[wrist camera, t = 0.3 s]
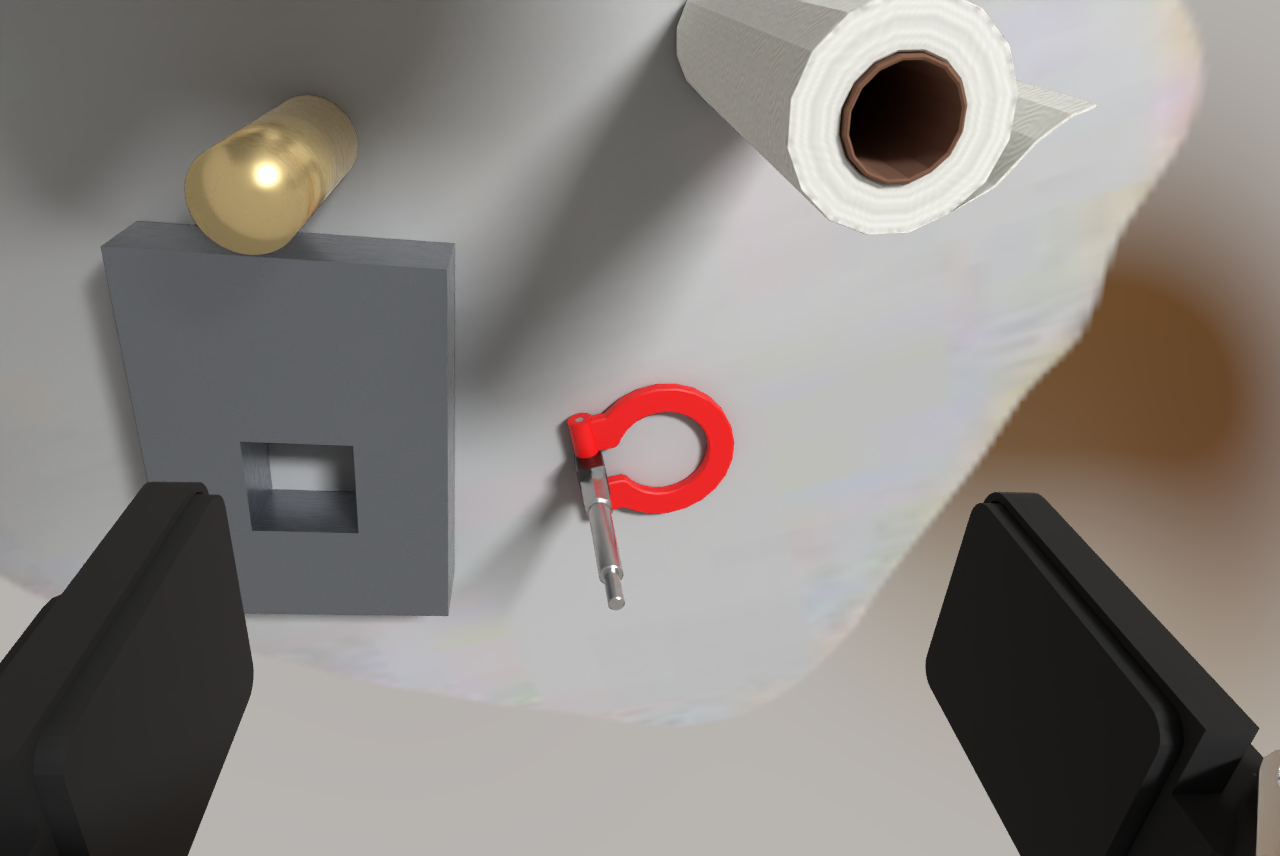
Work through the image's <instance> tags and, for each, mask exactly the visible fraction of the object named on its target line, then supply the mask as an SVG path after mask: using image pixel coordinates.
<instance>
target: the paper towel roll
mask: <svg viewBox="0 0 1280 856" xmlns="http://www.w3.org/2000/svg"><path fill="white" fill-rule="evenodd" d="M677 58H678V60H679V63H680V65H681V68H682V71H683V73H684V76H685V79H686V81H687V82H688V83H689V84H690V85H691V86H692V87H693V88H694V89H695V90H696V91H697V92H698V93H699V94H700V96H701V97H702V98H703V99H704V100H705V101H706V102H707V103H708V104H710V105H711V106H712V107H713V108H714V109H715V110H716V111H717V112H718V113H719V114H720V115H721V116H722V117H723V118H724V119H725V120H726V121H727V122H728V123H729V124H730V125H731V126H732V127H733V128H734V129H735V130H736V131H737V132H738V133H739V134H740V135H741V136H742V137H743V138H745V139H746V140H747V141H748V142H749V143H750V144H751V145H752V146H753V147H754V148H755V149H756V150H757V151H758V152H759V153H760V154H761V155H762V156H763V157H764V158H765V159H766V160H767V161H768V162H769V163H770V164H771V165H772V166H773V167H774V168H775V169H776V170H777V171H779V172H780V173H781V174H782V175H783V176H784V177H785V178H786V179H787V180H788V181H789V182H790V183H791V184H792V185H793V186H794V187H795V188H796V189H797V190H798V191H799V192H800V193H801V194H802V195H803V196H804V197H805V198H806V199H807V200H808V201H809V202H810V203H811V204H813V205H814V206H815V207H816V208H817V209H818V210H819V211H820V212H821V213H822V214H823V215H824V216H825V217H826V218H827V219H828V220H830V221H833V222H835V223H838V224H841V225H843V226H846V227H848V228H851V229H853V230H856V231H859V232H861V233H864V234H886V233H907V232H911V231H913V230H915V229H918V228H920V227H922V226H924V225H926V224H928V223H930V222H932V221H934V220H937V219H939V218H941V217H943V216H945V215H947V214H949V213H951V212H953V211H955V210H956V209H958V208H960V207H962V206H963V205H965V204H967V203H969V202H971V201H972V200H974V199H976V198H978V197H979V196H981V195H983V194H985V193H987V192H988V191H990V190H992V189H994V188H995V187H996V186H997V185H998V184H999V183H1000V182H1001V181H1002V180H1003V179H1004V178H1005V177H1006V176H1007V175H1008V174H1009V173H1010V171H1011V170H1012V169H1013V168H1014V167H1015V166H1016V165H1017V164H1018V163H1019V162H1020V161H1021V160H1022V159H1023V158H1024V157H1025V156H1026V154H1027V153H1028V152H1029V151H1030V150H1031V149H1032V148H1033V147H1034V146H1035V145H1036V144H1037V143H1038V142H1039V141H1040V140H1042V139H1043V138H1044V137H1046V136H1047V135H1048V134H1050V133H1051V132H1052V131H1054V130H1055V129H1056V128H1058V127H1059V126H1061V125H1062V124H1063V123H1065V122H1066V121H1067V120H1069V119H1070V118H1071V117H1073V116H1075V115H1078V114H1080V113H1083V112H1085V111H1088V110H1090V109H1092V108H1095V107H1097V106H1096V104H1095V103H1091V102H1088V101H1085V100H1081V99H1078V98H1074V97H1071V96H1068V95H1064V94H1061V93H1057V92H1054V91H1051V90H1047V89H1044V88H1040V87H1037V86H1033V85H1030V84H1027V83H1023V82H1020V81H1016V77H1015V72H1014V66H1013V61H1012V56H1011V51H1010V46H1009V44H1008V43H1007V42H1006V40H1005V39H1004V38H1003V36H1002V35H1001V33H1000V32H999V31H998V29H997V28H996V27H995V25H994V24H993V22H992V21H991V20H990V18H989V17H988V16H987V14H986V13H985V11H984V10H983V9H982V8H980V7H978V6H976V5H974V4H972V3H970V2H968V1H966V0H687V2H686V4H685V7H684V10H683V12H682V15H681V18H680V20H679V23H678V26H677Z"/></svg>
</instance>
